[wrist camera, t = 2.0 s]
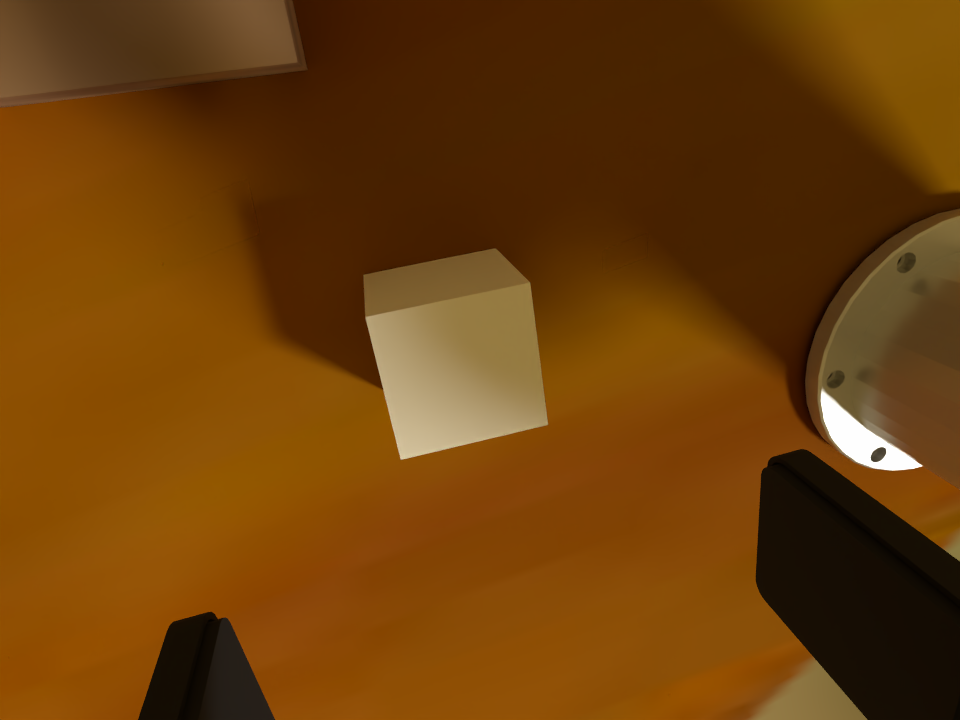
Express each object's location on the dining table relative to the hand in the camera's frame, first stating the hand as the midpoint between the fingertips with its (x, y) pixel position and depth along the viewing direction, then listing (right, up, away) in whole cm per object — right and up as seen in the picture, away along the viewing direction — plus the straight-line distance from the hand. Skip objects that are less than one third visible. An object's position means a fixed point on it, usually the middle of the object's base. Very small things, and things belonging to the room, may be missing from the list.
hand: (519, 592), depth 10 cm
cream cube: (-2, +5, +13) cm, 14 cm away
